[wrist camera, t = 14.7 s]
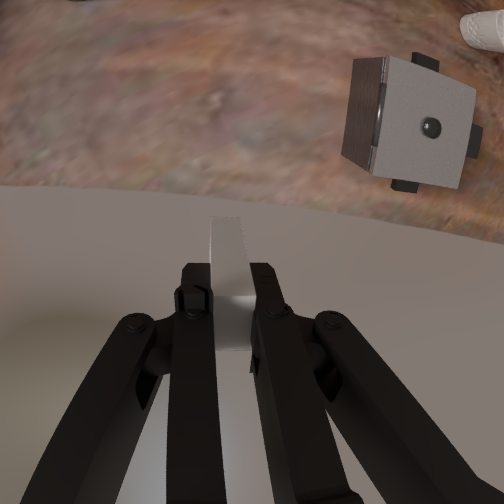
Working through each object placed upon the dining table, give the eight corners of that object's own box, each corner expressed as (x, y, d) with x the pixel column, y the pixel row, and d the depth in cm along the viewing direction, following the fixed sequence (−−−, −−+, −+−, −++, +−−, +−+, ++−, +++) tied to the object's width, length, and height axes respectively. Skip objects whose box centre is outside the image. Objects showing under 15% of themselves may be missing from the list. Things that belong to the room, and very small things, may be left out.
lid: (381, 54, 29) (387, 53, 28) (483, 94, 32) (490, 96, 31) (364, 172, 37) (369, 176, 36) (465, 189, 40) (471, 192, 38)
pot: (355, 44, 36) (385, 39, 29) (434, 70, 38) (470, 73, 31) (338, 169, 46) (363, 188, 38) (415, 179, 48) (446, 199, 40)
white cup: (463, 52, 37) (503, 55, 28) (451, 11, 33) (490, 8, 24) (488, 50, 36) (527, 54, 27) (478, 12, 32) (515, 11, 23)
